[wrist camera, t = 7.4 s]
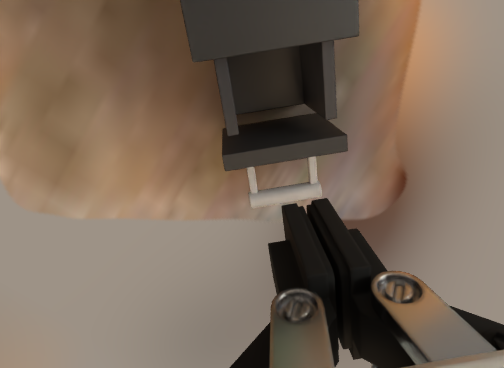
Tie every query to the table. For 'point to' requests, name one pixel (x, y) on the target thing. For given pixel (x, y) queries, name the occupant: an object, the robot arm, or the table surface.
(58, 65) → the table surface
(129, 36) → the table surface
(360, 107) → the table surface
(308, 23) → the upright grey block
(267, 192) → the drawer
